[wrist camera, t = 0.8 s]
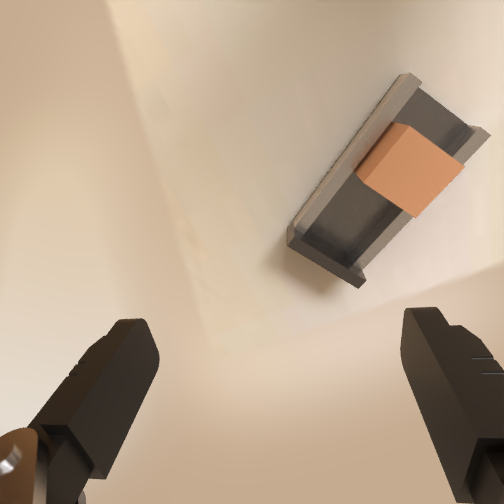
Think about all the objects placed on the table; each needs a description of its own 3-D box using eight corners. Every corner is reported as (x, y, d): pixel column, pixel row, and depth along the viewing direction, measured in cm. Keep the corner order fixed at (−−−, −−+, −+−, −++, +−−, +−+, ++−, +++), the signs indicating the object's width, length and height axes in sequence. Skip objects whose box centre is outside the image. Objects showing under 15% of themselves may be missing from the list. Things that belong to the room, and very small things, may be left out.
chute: (399, 74, 25) (420, 70, 22) (474, 132, 27) (506, 138, 23) (287, 227, 33) (287, 245, 29) (350, 266, 34) (358, 288, 30)
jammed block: (389, 120, 27) (409, 126, 22) (436, 155, 27) (465, 166, 23) (351, 169, 29) (363, 182, 24) (396, 199, 30) (415, 218, 25)
